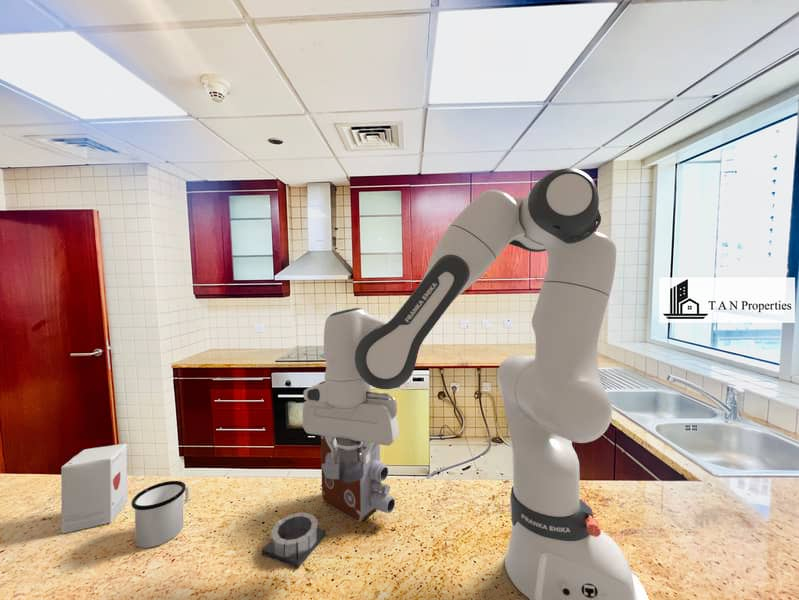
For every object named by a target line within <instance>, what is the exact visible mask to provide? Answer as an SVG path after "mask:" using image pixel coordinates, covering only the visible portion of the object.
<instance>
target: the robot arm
mask: <svg viewBox="0 0 799 600" xmlns="http://www.w3.org/2000/svg"><path fill="white" fill-rule="evenodd" d="M596 185H597V184H596V183H595V181H594V180H593V178H592V177H590V175H589V174H588V173H586V172H584V171H582V170H580V169H577V168H569V167H567V168H566V167H565V168H561V169H557V170H554V171H551V172H550V173H548V174H547V175H544V176H543V177H542V178H541V179H539V180H538V181H537V182H536V183H535V184H534V186H532V189H531V190H530V191H529V192H528V193H527V195H525V197H524V198H516V197H512V196H510V195H509V194H508V193H506V192H504V191H501V190H498V189H488V190H485V191H483V192H482V193H480V194H478V196H477V197H476V198H474V199H473V200H472V201H471V202H470V203H469V204H468V205H467V206H466V207H464V209H462V211H461V212H460V213H459V214H458V215H457V216H456V218H454V220H453V221H452V223H451V224H450V225H449V226H448V228H447V229H446V230H445V232H444V233H443V234H442V236H441V238H440V239H439V241H438V243H437V245H436V246H435V249H434V250H433V253H431V257H430V260H429V263H428V266H427V268H426V271H425V274H424V275H423V278H422V279H421V281H420V283H419V284H417V287H416V288H415V289H414V291H413V292H412V293H411V295H410V296H409V297H408V298H407V299H406V301H405V302H404V303H403V305H402V306H401V307H400V309H399V310H398V311H397V312H396V314H395V315H394V316H393V317H392V318H391V319H390V320H389V321H387V320H384V319H381V318H379V317H376V316H374V315H372V314H370V313H368V312H367V311H366V310H365V309H363V308H361V307H354V308H350V309H349V308H348V309H344V310H339V311H336V312H333V313H331V314H330V315H329V316H328V317H327V318H326V320H325V321H324V322H325V323H324V330H323V356H324V360H325V363H326V364H325V365H326V366H325V373H324V381H321V382H319V383H316V384H314V385H312V386H310V387H308V388H306V389H304V390H303V398H304V400H305V401H304V403H303V406H302V426H303V429H304V431H305V432H306V434H310V435H315V436H316V435H318V436H321V435H322V436H326V442H327V444H328V446H329V447H330V449H331V457H332V458H338V454H337V441H336V439H335V438H343V439H350V440H355V441H361V442H363V443H364V447H366V449H365V450H363V451H362V453H360V454H359V458H360V460H359V462H360V463H365V464H367V463H368V462H369V461H370V451H371V449H372V447H373V446H374V444H380V446H381V445H382V446H391V445H392V444H393V443H394V442H395V441H396V440H397V439H398V437H399V436H400V435H399V434H400V432H399V422H398V416H397V414H398V403H397V400H396V399H395V398H394V397H393V396H391V395H390V394H389V393H385V392H384V393H382V392H376V391H371V387H373V388H375V389H380V390H392V389H396V388H399V387H401V386H402V385H404V384H405V383H406V382H407V381H408V380H409V379H410V378H411V377H412V375H413V373H414V370H415V367H416V363H417V359H418V354H419V351H420V347H421V345H422V344H423V342H424V340H425V339H426V338H427V336H428V335H429V334H430V332H431V331H432V330H433V328H434V326H436V324H437V323H438V322H439V320H440V319H441V317H442V316H443V315H444V313H445V312H446V311H447V310H448V308H449V307H450V306H451V304H452V303H453V302H454V301H455V300H456V299H457V298H458V297H459V296H460V295H461V294H463V292H465V291H466V290H467V289H468V288H470V287H471V286H472V285H473V284H475V282H477V281H478V280H479V279H480V278H481V277H482V276H483V275H485V273H486V272H487V271H488V270H489V269H490V268H491V266H492V265H493V263H494V262H495V261H496V260H497V259H498V257H499V256H500V255H501V253H502V252H503V250H505V248H507V246H508V245H511V246H515V247H517V248H520V249H522V250H524V251H528V252H533V253H540V252H542V253H543V252H545V251H546V254H547V260H548V261H547V262H548V263H547V270H546V273H545V276H544V278H543V281H542V285H541V287H540V292H539V295H538V298H537V302H536V304H535V308H534V311H533V315H532V318H531V326H532V329H533V331H534V336H535V355H531V354H525V355H524V354H521V355H520V354H519V355H513V356H510V357H507V358H506V359H505V360H503V361H502V363H500V365H499V367H498V369H497V371H496V372H497V373H496V382H497V386H498V388H499V391H500V393H501V397H502V399H503V401H502V402H503V404H504V405H503V407H504V412H505V416H506V422H507V426H508V427H507V428H508V431H509V437H510V442H511V450H512V452H511V453H512V487H511V490H510V496H509V497H510V499H509V500H510V501H509V506H510V507H509V509H510V517H511V523H512V524H511V531H510V539H509V544H508V548H507V551H506V554H505V558H504V566H505V567H504V568H505V570H506V571H505V572H506V573H507V575H508V577H509V579H510V581H511V582H512V584H513V585H514V586H515V587H516V588H517V589H518V591H520V592H521V593H522V594H523V595H524V596H525V597H526V598H527V599H529V600H650V598H649V596H648V594H647V592H646V589H645V587H644V585H643V584H642V581H641V580H640V578H639V577H638V576H637V574H635V572H634V571H633V569H631V567H630V565H629V563H628V560H627V558H626V556H625V554H624V553H623V550H622V549H621V547H620V546H619V545H618V543H617V542H616V541H615V540H614V539H613V538H612V537H611V536H609V535H608V534H607V533H605V532H604V531H603V530H601V527H600V524H599V522H598V520H597V519H595V518H594V513H593V510H592V508H591V507H590V506H589V502H588V501H587V499H586V498H585V497H583V500H582V499H581V497H580V490H581V489H580V460H579V458H578V454H577V453H576V451H575V449H574V447H573V444H572V442H573V443H578V444H586V443H591V442H593V441H596V440H597V439H599V438H600V437H601V436H603V434H605V432H606V431H607V430H608V429H609V426H610V424H611V421H612V419H613V405H612V400H611V398H610V397H609V394H608V392H607V391H606V389H605V387H604V385H603V383H602V381H601V377H600V371H599V370H600V369H599V359H598V346H599V345H598V342H599V338H600V337H599V336H600V332H601V327H602V324H603V320H604V316H605V313H606V309H607V306H608V303H609V300H610V299H609V298H610V296H611V292H612V288H613V284H614V280H615V279H614V277H615V272H616V266H617V265H616V264H617V246H616V244H615V242H614V241H613V239H611V238H610V237H608V236H607V235H605V234H603V233H601V232H598V231H596V230H597V229H598V228H599V226H601V225H600V224H601V223H602V216H601V212H600V209H599V206H600V203H599V202H600V201H599V200H600V199H599V197H600V196H599V191H598V188H597V186H596ZM595 223H596V224H595Z"/></svg>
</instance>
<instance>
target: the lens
mask: <svg viewBox="0 0 799 600" xmlns="http://www.w3.org/2000/svg"><path fill="white" fill-rule="evenodd" d="M362 451H363V442H361V441H355V440H350V439H343V438H337V454H338V478H339V480H340V481H342V482H346V483H351V482H355V481H358V480H360V479H361V478H362V477H363V475H364V468H363V463H360V462H359V460H360V458H359V454H360V453H362Z"/></svg>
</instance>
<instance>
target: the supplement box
mask: <svg viewBox="0 0 799 600" xmlns="http://www.w3.org/2000/svg"><path fill="white" fill-rule="evenodd" d="M60 468H61V470H60V471H61V473H60V475H61V476H60V477H61V483H60V484H61V494H60V495H61V534H66V533H71V532H76V531H81V530H85V528H86V529H89V528H90V529H91V528H95V527H98V525H99V526H104V525H108V524H107V523H109V524H112V523H111V522H113V521H114V520H115V519H116V517H117V516H118V515H119V513H120V512H121V511H122V509H123V508H124V507H125V505H126V504H127V502H128V443H120V444H113V445H107V446H99V447H92V448H86V449H83V450H81V451H80V452H79V453H78V454H76V455H74V456H73V457H72V458H71V459H69V461H68V462H65V464H64V465H62V466H61V467H60ZM125 503H126V504H125ZM123 506H124V507H123ZM120 510H121V511H120ZM114 518H115V519H114ZM103 524H104V525H103ZM94 526H95V527H94Z"/></svg>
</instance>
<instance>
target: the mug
mask: <svg viewBox="0 0 799 600" xmlns="http://www.w3.org/2000/svg"><path fill="white" fill-rule="evenodd" d="M189 489H190V488H189V485H186V483H185V482H183V481H179V480H166V481H164V482H163V481H162V482H159V483H156V484H153V485H151V486H149V487H147V488H145V489H143V490H142V491H140V492H139V493H137V494H136V495H135V496H134V497H133V498H132V500H131V506H130V507H131V508H132V509H134V521H135V522H134V525H135V526H134V530H135V532H134V536H135V537H134V538H135V541H134V542H135V545H136V547H138V548H143V549H147V548H149V549H150V548H155V547H157V546H158V547H159V546H161V545H163V544H165V543H167V542H169V541H171V540H172V539H174V537H176V536H177V535H178V534H180V533H181V531H182V530H183V528H184V508H186V506H187V505H188V503H189V500H190V499H189V498H190V493H189V492H190V490H189ZM184 494H185V495H184ZM184 499H185V501H184Z"/></svg>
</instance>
